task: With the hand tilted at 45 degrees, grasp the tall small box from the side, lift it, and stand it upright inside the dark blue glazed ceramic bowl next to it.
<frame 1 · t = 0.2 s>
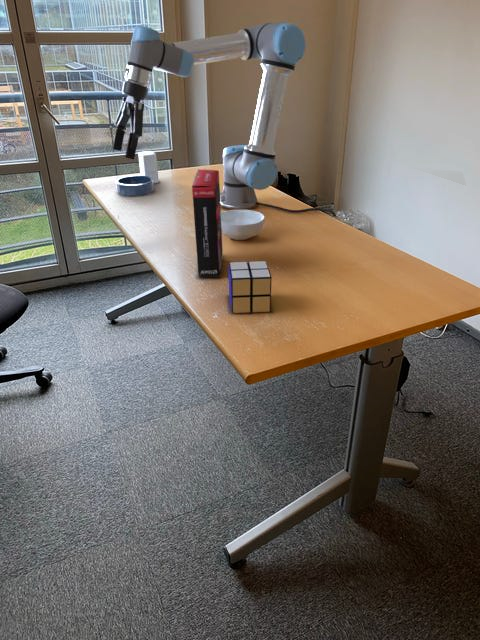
hand: (122, 154, 161), 28 cm above the table, tool tilted 20°, fingers open, 13 cm apart
puzzle cube: (249, 304, 133), on the table
small box: (149, 182, 235), on the table
bowl: (135, 191, 222), on the table
cereal bowl: (240, 236, 175), on the table
graphics card box: (210, 267, 153), on the table
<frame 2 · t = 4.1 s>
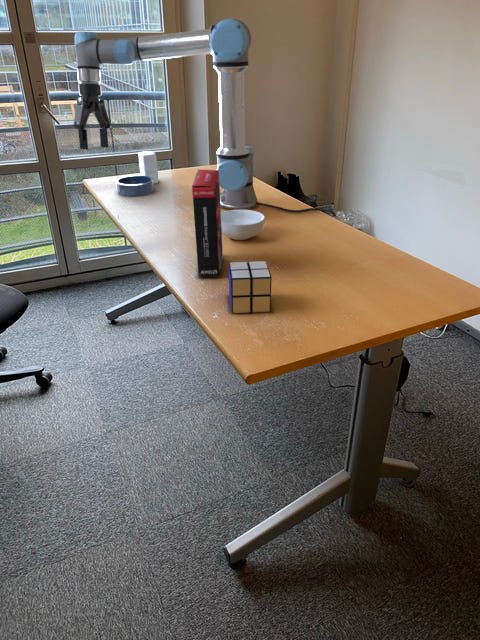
hand: (94, 148, 182), 25 cm above the table, tool pointing down, fingers open, 13 cm apart
nothing on the table moved.
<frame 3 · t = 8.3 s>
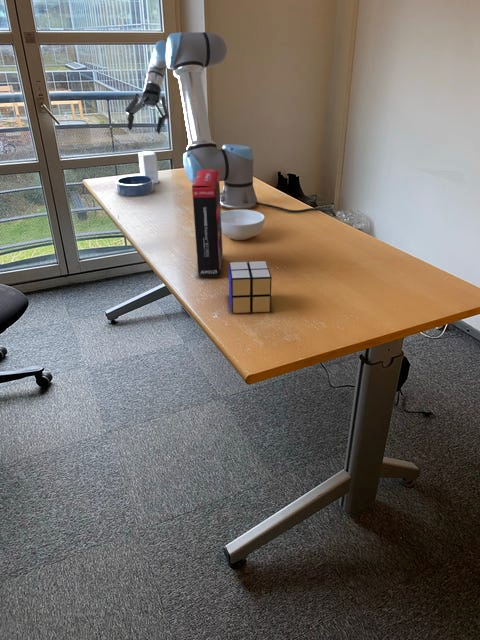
hand: (143, 130, 226), 22 cm above the table, tool tilted 40°, fingers open, 13 cm apart
nothing on the table moved.
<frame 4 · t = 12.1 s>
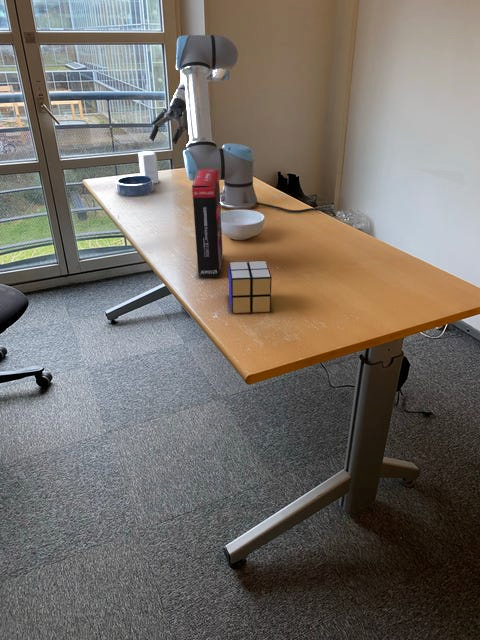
hand: (162, 140, 235), 16 cm above the table, tool tilted 45°, fingers open, 13 cm apart
nothing on the table moved.
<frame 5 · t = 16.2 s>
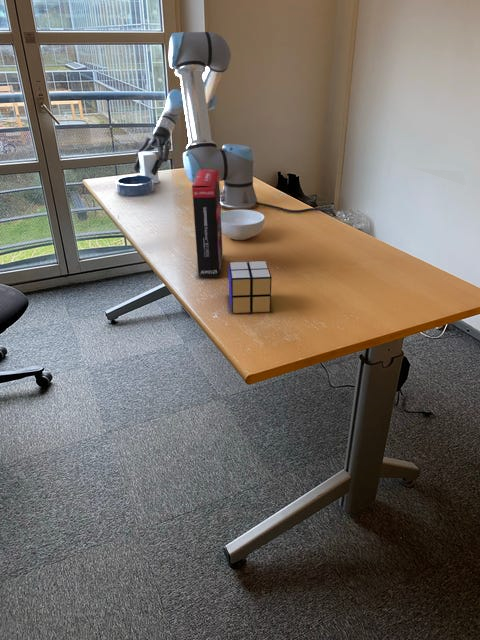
hand: (144, 172, 230), 5 cm above the table, tool tilted 45°, fingers closed on small box, 10 cm apart
small box: (149, 182, 235), on the table, touching gripper
everything else where it was.
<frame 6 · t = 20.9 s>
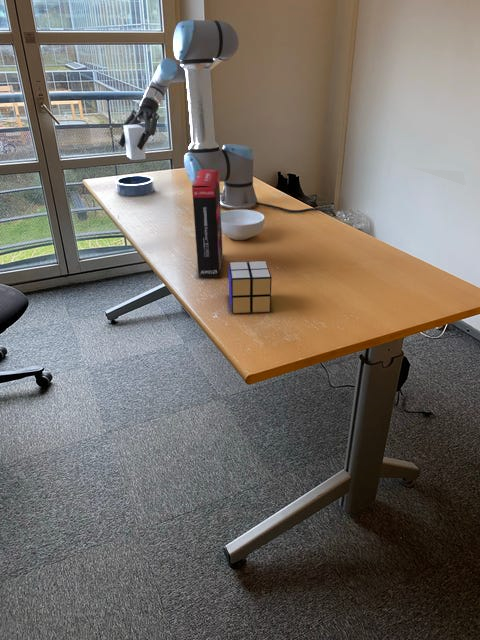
hand: (130, 146, 213), 19 cm above the table, tool tilted 45°, fingers closed on small box, 10 cm apart
small box: (136, 158, 218), point 13 cm above the table, touching gripper
everything else where it was.
when the fingers open (6 cm above the table, at t = 25.5 s): small box stays where it is, resting on bowl.
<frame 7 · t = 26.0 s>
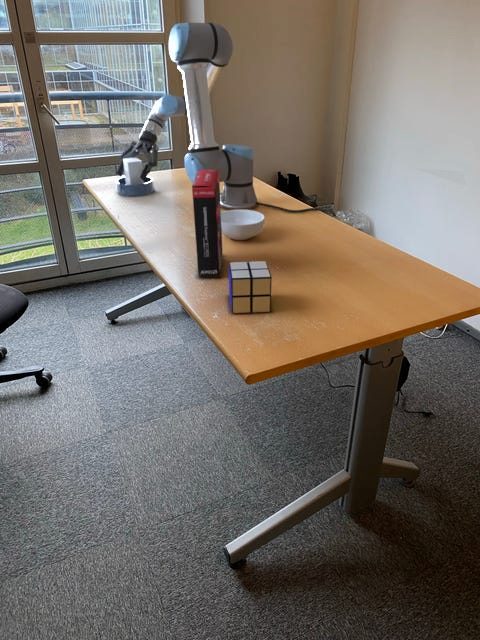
hand: (130, 176, 216), 7 cm above the table, tool tilted 45°, fingers open, 13 cm apart
small box: (135, 190, 221), resting on bowl
everything else where it was.
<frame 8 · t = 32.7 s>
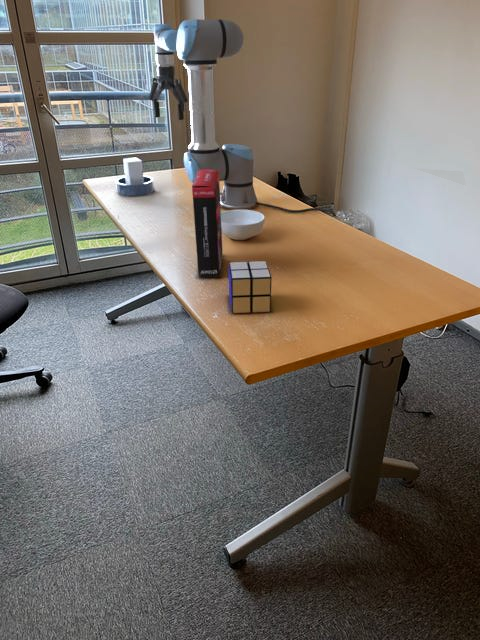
hand: (169, 118, 227), 27 cm above the table, tool pointing down, fingers open, 13 cm apart
nothing on the table moved.
at the end: small box inside the target area in the bowl (0.1 cm from its centre), point 0.4 cm above the bowl's base; the gripper is holding nothing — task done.
